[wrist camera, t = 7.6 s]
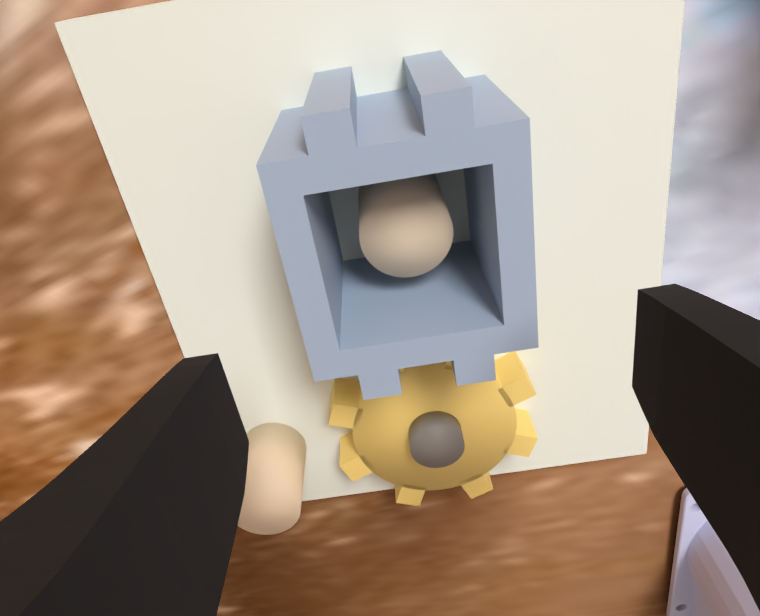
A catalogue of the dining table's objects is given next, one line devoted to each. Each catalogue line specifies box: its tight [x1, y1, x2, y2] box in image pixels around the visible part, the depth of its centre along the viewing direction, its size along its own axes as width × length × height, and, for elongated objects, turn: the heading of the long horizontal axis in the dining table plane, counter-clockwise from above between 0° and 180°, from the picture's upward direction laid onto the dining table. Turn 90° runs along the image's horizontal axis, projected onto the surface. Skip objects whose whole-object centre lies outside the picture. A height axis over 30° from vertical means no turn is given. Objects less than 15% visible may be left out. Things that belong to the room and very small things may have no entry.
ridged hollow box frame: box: [256, 50, 539, 400], centre depth 16 cm, size 7×6×5 cm
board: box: [55, 0, 685, 535], centre depth 19 cm, size 18×16×4 cm
